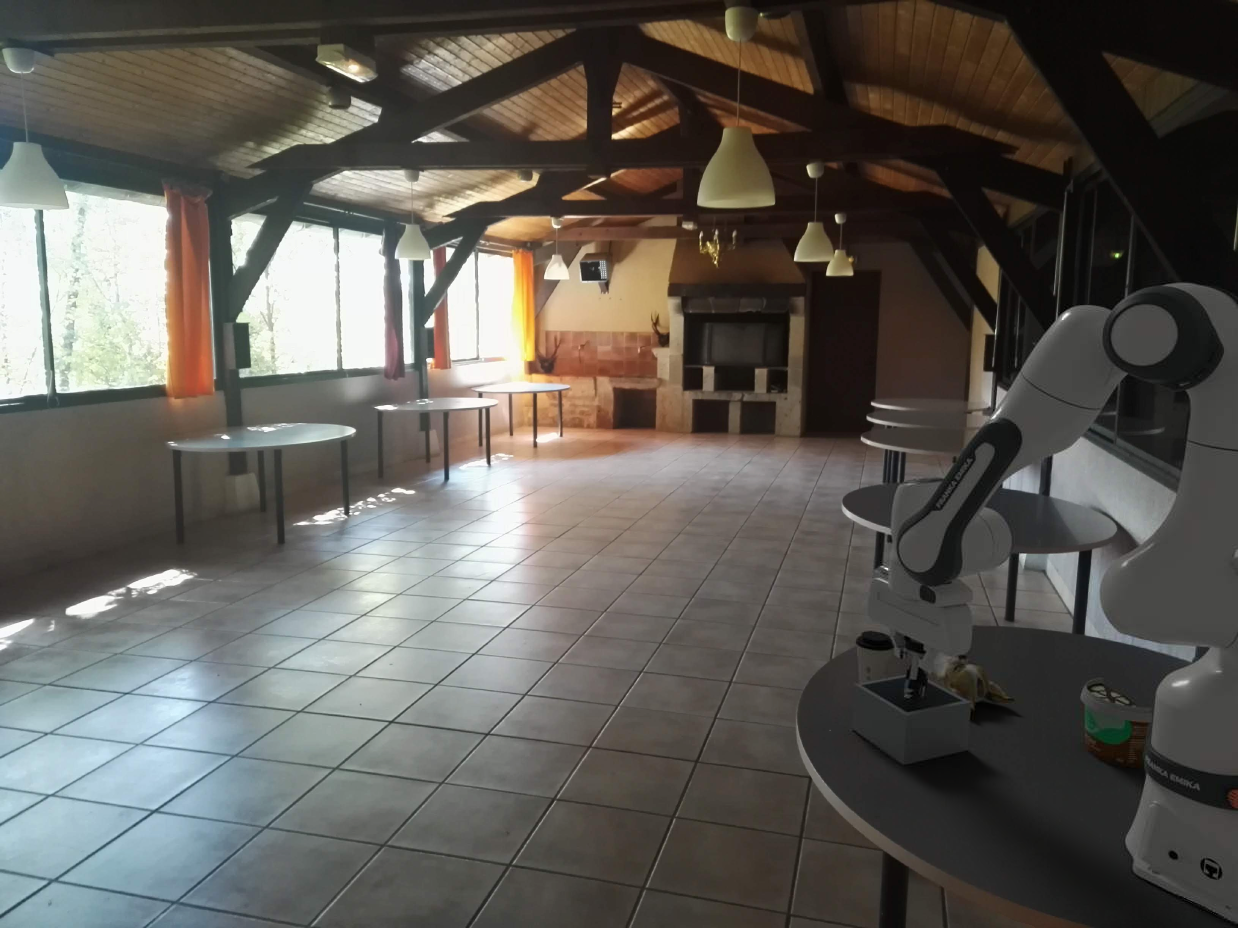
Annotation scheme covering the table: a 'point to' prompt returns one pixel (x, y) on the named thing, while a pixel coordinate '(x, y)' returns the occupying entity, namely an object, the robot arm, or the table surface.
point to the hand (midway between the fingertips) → (913, 663)
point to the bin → (911, 719)
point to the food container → (1114, 725)
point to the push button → (915, 670)
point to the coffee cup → (874, 655)
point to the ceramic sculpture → (965, 680)
